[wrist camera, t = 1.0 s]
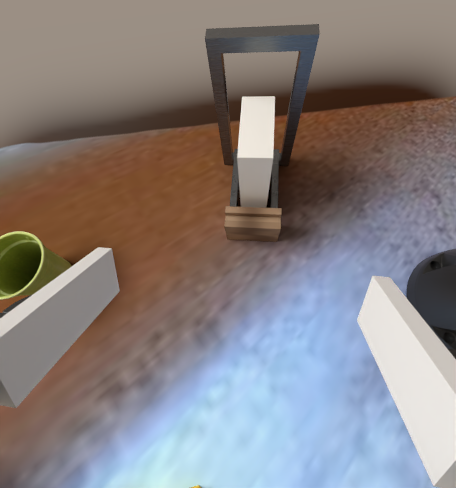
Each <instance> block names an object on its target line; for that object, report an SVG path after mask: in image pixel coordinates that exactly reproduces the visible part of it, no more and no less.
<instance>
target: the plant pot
mask: <svg viewBox="0 0 456 488" xmlns="http://www.w3.org/2000/svg"><path fill="white" fill-rule="evenodd" d="M70 267H72V266H71V264H70V263H69V262H68V261H67V260H65V259H63V258H62V257H60V256H58V255H57V254H55V253H53V252H52V251H50V250H49V249H47V248H46V247H45V246H44V245H43V244H42V242H41V241H40V239H39V238H37V237H36V236H35V235H33V234H31V233H28V232H20V231H18V232H12V233H8V234H5V235H3V236H1V237H0V299H8V298H12V297H15V296H20V295H33V294H35V293H36V292H37V291H39V290H40V289H41V288H43V287H44V286H46V285H47V284H48V283H50V282H51V281H52V280H54V279H55V278H57V277H58V276H59V275H61V274H62V273H63V272H65V271H66V270H68V269H69V268H70Z"/></svg>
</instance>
